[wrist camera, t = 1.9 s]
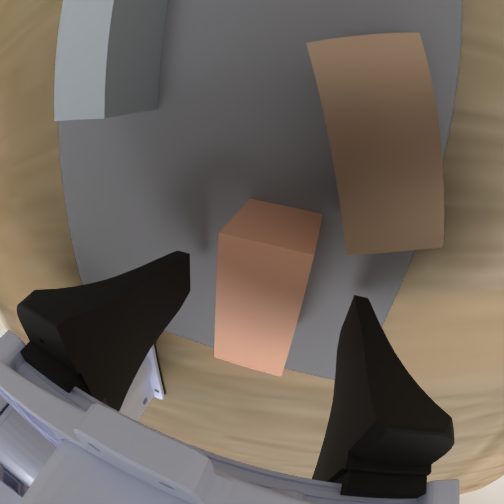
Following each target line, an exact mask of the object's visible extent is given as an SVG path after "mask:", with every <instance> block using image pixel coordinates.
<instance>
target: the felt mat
mask: <svg viewBox="0 0 504 504" xmlns="http://www.w3.org/2000/svg"><path fill="white" fill-rule="evenodd" d="M461 31H462V0H168V3H167V10H166V17H165V25H164V33H163V42H162V52H161V63H160V76H159V91H158V109H157V110H150V111H144V112H137V113H131V114H126V115H120V116H115V117H110V118H105V119H82V120H65V121H58V133H59V150H60V163H61V173H62V182H63V191H64V198H65V205H66V211H67V218H68V223H69V229H70V234H71V239H72V244H73V249H74V254H75V258H76V263H77V267H78V271H79V275H80V279H81V283H82V285H85V284H90V283H94V282H98V281H102V280H105V279H109V278H112V277H115V276H118V275H121V274H123V273H126V272H128V271H131V270H133V269H136V268H138V267H140V266H143V265H145V264H147V263H150V262H152V261H154V260H156V259H158V258H161V257H163V256H165V255H168V254H170V253H172V252H175V251H182V252H185V253H189V254H190V289H191V290H190V292H189V294H188V296H187V298H186V300H185V302H184V303H183V305H182V307H181V308H180V310H179V311H178V312H177V314H176V315H175V316H174V318H173V319H172V320H171V322H170V323H169V324H168V326H167V327H166V328H165V330H164V331H167V332H170V333H172V334H175V335H178V336H181V337H184V338H186V339H189V340H192V341H195V342H198V343H201V344H204V345H207V346H210V347H213V348H214V340H215V306H216V279H217V257H218V237H219V232H220V231H221V230H222V229H223V228H224V227H225V225H226V224H227V223H228V222H229V221H230V220H231V219H232V218H233V217H234V216H235V215H236V213H237V212H238V211H239V210H240V209H241V208H242V207H243V206H244V205H245V204H246V203H247V202H248V201H249V199H254V200H259V201H264V202H269V203H274V204H279V205H283V206H288V207H293V208H297V209H302V210H306V211H311V212H315V213H320V214H323V217H322V222H321V226H320V231H319V236H318V240H317V245H316V249H315V254H314V258H313V262H312V266H311V270H310V274H309V279H308V283H307V286H306V290H305V294H304V298H303V302H302V306H301V310H300V313H299V317H298V321H297V324H296V328H295V332H294V335H293V339H292V342H291V346H290V349H289V353H288V356H287V360H286V363H285V366H284V368H286V369H289V370H293V371H297V372H302V373H306V374H310V375H314V376H319V377H323V378H328V379H332V380H335V372H336V357H337V348H338V342H339V336H340V331H341V328H342V326H343V323H344V320H345V318H346V315H347V313H348V310H349V308H350V305H351V302H352V300H353V297H354V295H357V296H361V297H366V298H368V299H369V301H370V303H371V305H372V307H373V310H374V312H375V314H376V316H377V319H378V321H379V323H380V325H381V327H382V325H383V323H384V321H385V319H386V317H387V315H388V312H389V310H390V308H391V306H392V304H393V301H394V299H395V297H396V295H397V292H398V290H399V288H400V286H401V283H402V281H403V278H404V276H405V274H406V271H407V269H408V266H409V264H410V261H411V259H412V256H413V253H414V251H415V250H411V251H399V252H387V253H375V254H363V255H350V256H346V248H345V239H344V231H343V223H342V215H341V208H340V201H339V194H338V187H337V181H336V175H335V169H334V163H333V158H332V152H331V147H330V141H329V136H328V131H327V126H326V122H325V117H324V112H323V108H322V103H321V99H320V94H319V90H318V86H317V82H316V78H315V74H314V70H313V66H312V62H311V59H310V55H309V51H308V48H307V44H306V43H309V42H314V41H320V40H327V39H334V38H341V37H349V36H359V35H370V34H384V33H420V36H421V39H422V43H423V47H424V50H425V54H426V58H427V62H428V67H429V71H430V76H431V80H432V85H433V91H434V96H435V102H436V108H437V115H438V122H439V130H440V138H441V148H442V160H443V156H444V152H445V148H446V143H447V139H448V134H449V129H450V124H451V119H452V113H453V107H454V101H455V95H456V88H457V80H458V71H459V61H460V49H461Z"/></svg>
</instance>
